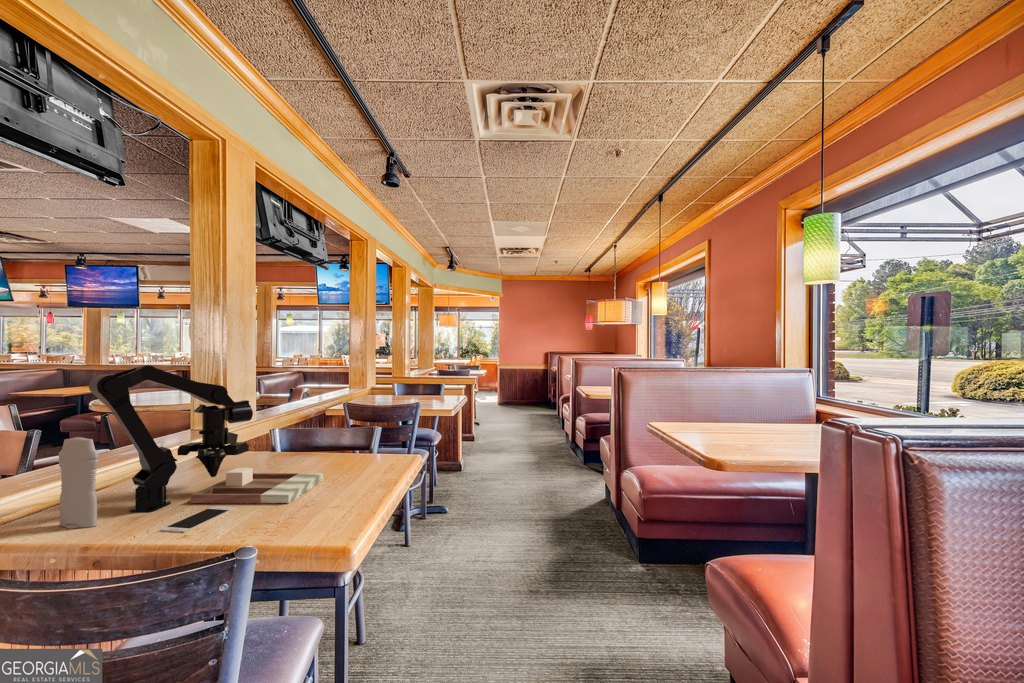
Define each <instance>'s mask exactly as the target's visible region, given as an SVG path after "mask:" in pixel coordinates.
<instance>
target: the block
mask: <svg viewBox="0 0 1024 683" xmlns="http://www.w3.org/2000/svg"><path fill="white" fill-rule="evenodd" d="M253 469H254V468H253V467H236V468H234V469H233V468H232V469H231V470H229V471H226V472H225V480H226V486H243V485H245V484H247V483H249V482H251V481H253V473H254V471H253Z"/></svg>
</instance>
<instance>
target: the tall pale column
mask: <svg viewBox="0 0 1024 683" xmlns="http://www.w3.org/2000/svg"><path fill="white" fill-rule="evenodd" d="M63 440H64V441H63V445H62V448H61V450H60V451H59V452H58V466H59V468H60V469H61V470H60V475H61V476H60V477H61V480H60V481H61V483H60V484H61V487H60V489H61V492H60V495H59V527H60V528H66V529H69V530H72V529H73V530H74V529H83V528H84V529H87V528H95V527H97V526H98V496H97V492H96V488H97V487H96V481H97V480H96V477H97V476H96V475H97V474H96V473H97V468H98V466H99V451H97V450H96V447H95V444H94V439H93V438H87V437H86V438H85V437H81V436H79V437H78V436H75V437H71V438H66V439H63Z"/></svg>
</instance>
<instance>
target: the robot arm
mask: <svg viewBox="0 0 1024 683" xmlns="http://www.w3.org/2000/svg"><path fill="white" fill-rule="evenodd" d="M144 382H151V383H154V384H158V385H161V386H164V387H166V388H167V387H168V388H171V389H174V390H175V391H176V390H177V391H180V392H183V393H187V394H188V395H190V396H192V397H193V398H194V399H196V400H198V401H200V402H203V403H206V404H212V405H208V406H207V405H206V404H202V403H201V404H199V406H198V407H196V408H195V409H194V410H193V412H194V413H197V414H201V416H202V417H201V418H202V420H201V421H202V422H201V423H202V428H201V430H199V431H198V434H199V435H201V436H202V438H201V439H202V441H201V442H194V441H193V442H188V443H184V444H181V445H179V447H178V448H177V451H176V452H177V454H176V455H177V456H188V455H189V454H190V453H194V452H195V453H197V455H196V456H195V459H199V461H200V462H201V464H202V465H203V466H204V468H205V470H206V471H207V473H208V475H209V476H210V478H215V477H217V475H218V473H219V470H220V468H221V464H222V463H223V461H224V458H226V457H227V456H238V455H241V454H243V453H244V454H245V453H247V452H249V451H250V450H249V449H250V448H249V447H250V446H249V444H248V442H246V441H245V442H244V441H241V442H239V441H238V437H239V434H238V433H235V432H229V427H226V422H227V423H229V424H235V423H236V424H237V423H242V422H249V421H251V420H252V418H253V416H254V413H253V412H254V411H253V408H252V405H251V404H250V400H249V399H248V400H246V399H243V400H240V401H234V400H233V399H232V398H231V397H230V395H229V392H228V389H227V387H226V386H224V385H220V384H214V383H213V384H212V383H206V382H202V381H201V382H200V381H195V380H193V379H189V378H186V377H183V376H181V375H178V374H174V373H171V372H168V371H166V370H163V369H160V368H157V367H155V366H153V365H150V364H143V365H142V364H141V365H139V366H137V367H136V366H135V367H134V368H130V369H127V370H123V371H119V372H116V373H115V372H114V373H112V374H107V373H106V374H105V373H104V374H97V375H96V376H94V377H93V378H92V379H91V380H90V381H89V383H88V390H89V391H90V392H91V393H92V395H93V396H94V397H96V399H98V401H99V402H101V403H102V404H103V405H104V406H106V407H107V408H108V409H109V410H111V412H112V414H113V415H114V418H116V420H117V423H119V425H120V426H121V428H122V430H123V432H124V433H125V434H126V436H127V437H128V439H129V440H130V442H131V444H132V445H133V447H134V448H135V450H136V451H137V453H138V459H139V464H140V466H141V469H140V470H139V471H138V472H137V473H136V474H135V475H133V477H131V480H132V482H133V484H134V486H137V488H135V494H134V495H135V501H134V504H135V505H134V507H133V508H130V509H129V512H154V511H156V510H159V509H161V508H163V507H166V506H168V505H170V504H171V503H172V501H168V500H167V486H168V484H169V482H170V479H171V477H173V475H174V474H175V472H176V470H177V469H178V468H177V467H178V465H177V463H176V462H178V459H177V458H175V457H174V456H173V452H172V451H171V449H170V448H167V447H164V446H158V444H157V443H156V441H155V440H154V438H153V437H152V434H151V433H150V432H149V429H148V428H147V426H146V425H145V424H144V422H143V421H142V419H141V417H140V416H139V413H138V412H137V411H136V409H135V408H134V406H133V404H132V401H131V395H130V391H129V389H130V388H132V387H134V386H135V387H136V386H137V385H139V384H142V383H144ZM219 406H221V407H219Z"/></svg>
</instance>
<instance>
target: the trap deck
mask: <svg viewBox="0 0 1024 683" xmlns="http://www.w3.org/2000/svg"><path fill="white" fill-rule="evenodd" d="M321 481H322V482H323V481H324V473H322V472H316V473H315V472H311V473H310V472H309V473H308V472H299V473H298V472H297V473H296V472H294V473H293V472H284V473H281V472H278V473H277V472H276V473H275V472H273V473H271V472H269V473H266V472H258V473H256V472H255V473H254V472H253V481H251V482H249V483H247V484H245V485H243V486H226V479H224V480H222V481H219V482H217V483H215V484H213V485H210V486H209V487H206V488H203V489H201V490H198V491H196V492H194V493H193V494H191V495H190V504H191V503H289V504H291V503H292V502H293V500H294V501H295V500H297V499H298V498H300V497H301V496H302V494H303V493H304V494H306V493H307V492H309V491H310V490H311V488H312V487H313V488H314V486H315V485H316V486H318V485H319V484H321V483H322V482H321ZM320 482H321V483H320ZM318 483H319V484H318ZM317 484H318V485H317ZM316 486H315V487H316ZM313 488H312V489H313ZM309 489H310V490H309ZM308 490H309V491H308ZM306 491H307V492H306ZM305 492H306V493H305ZM304 494H303V495H304ZM300 495H301V496H300ZM299 496H300V497H299ZM296 498H297V499H296ZM291 501H292V502H291ZM290 502H291V503H290Z"/></svg>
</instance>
